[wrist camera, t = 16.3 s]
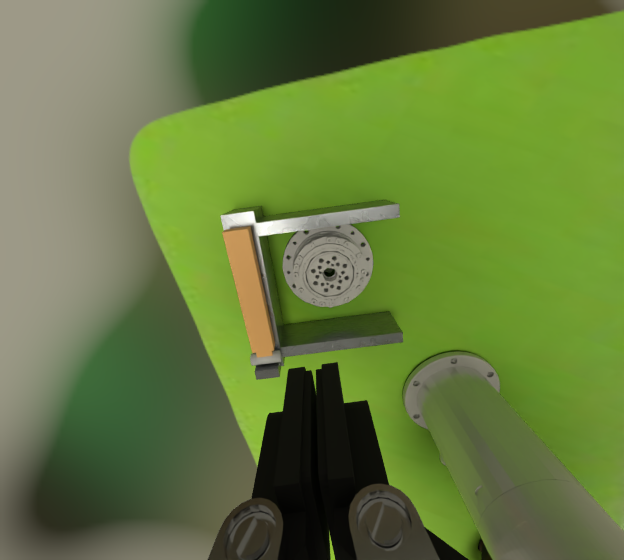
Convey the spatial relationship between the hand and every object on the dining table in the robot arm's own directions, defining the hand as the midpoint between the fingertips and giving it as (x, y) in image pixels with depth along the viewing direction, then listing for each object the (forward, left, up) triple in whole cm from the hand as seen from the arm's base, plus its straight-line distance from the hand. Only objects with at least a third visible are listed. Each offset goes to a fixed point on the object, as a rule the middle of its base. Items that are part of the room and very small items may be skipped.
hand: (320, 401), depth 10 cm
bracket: (-3, 0, -23) cm, 24 cm away
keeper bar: (-3, +6, -18) cm, 19 cm away
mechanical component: (-2, -2, -24) cm, 24 cm away
